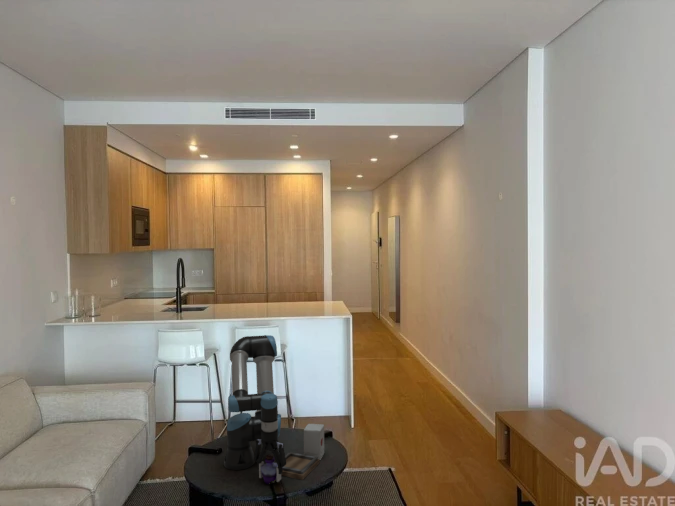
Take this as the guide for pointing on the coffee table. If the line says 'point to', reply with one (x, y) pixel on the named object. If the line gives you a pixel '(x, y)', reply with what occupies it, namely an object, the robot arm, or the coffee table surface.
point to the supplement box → (314, 440)
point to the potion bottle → (269, 469)
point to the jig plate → (299, 465)
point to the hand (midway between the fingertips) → (270, 478)
